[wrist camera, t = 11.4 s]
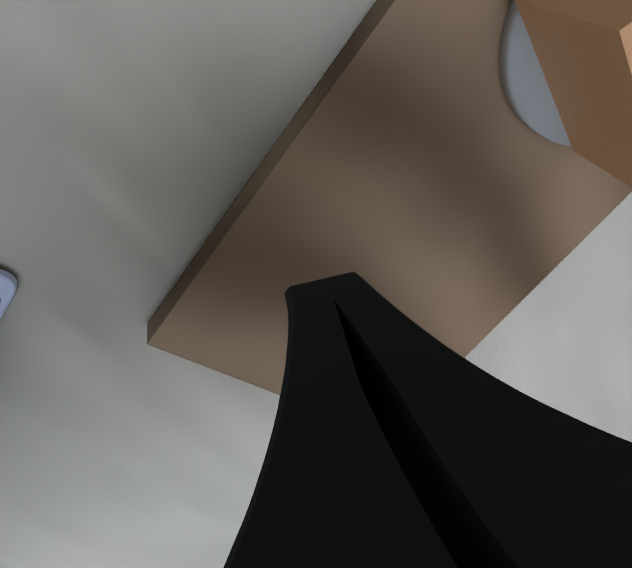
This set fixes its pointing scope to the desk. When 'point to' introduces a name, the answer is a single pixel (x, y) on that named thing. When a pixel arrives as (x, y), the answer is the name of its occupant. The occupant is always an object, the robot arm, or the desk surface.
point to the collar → (588, 74)
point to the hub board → (398, 192)
